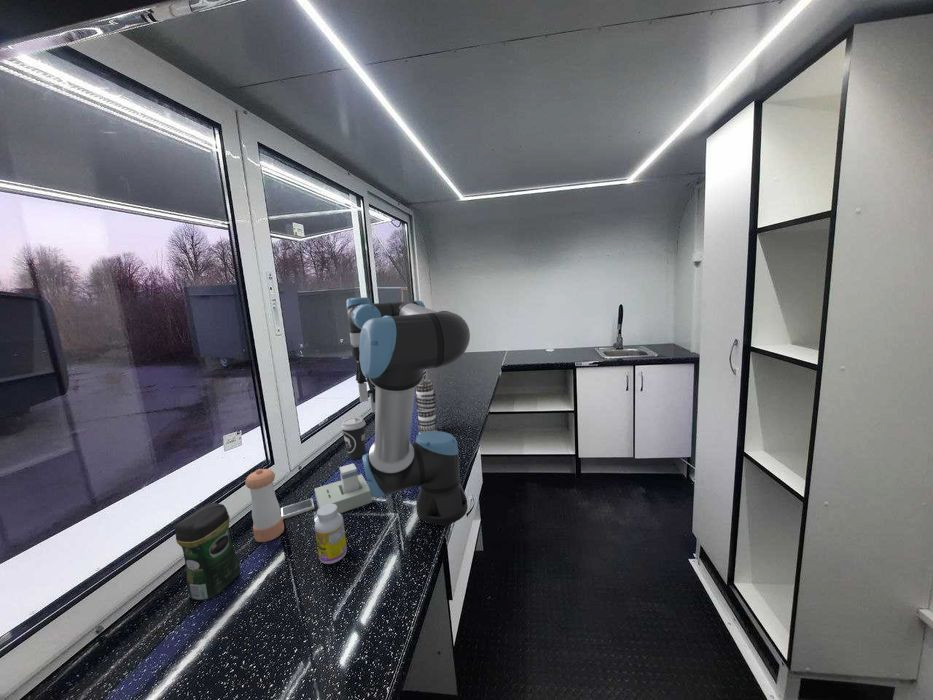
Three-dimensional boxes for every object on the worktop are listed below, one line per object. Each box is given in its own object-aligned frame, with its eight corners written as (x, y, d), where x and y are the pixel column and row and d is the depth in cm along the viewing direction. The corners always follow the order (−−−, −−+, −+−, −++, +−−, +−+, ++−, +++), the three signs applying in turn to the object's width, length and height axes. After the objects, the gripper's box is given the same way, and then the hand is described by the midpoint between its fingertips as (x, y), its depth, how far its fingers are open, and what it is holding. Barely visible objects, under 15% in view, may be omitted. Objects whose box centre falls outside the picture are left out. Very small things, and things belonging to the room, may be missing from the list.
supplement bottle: (315, 555, 89) (308, 508, 86) (341, 541, 93) (335, 497, 91) (324, 570, 83) (317, 521, 81) (351, 555, 88) (345, 509, 85)
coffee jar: (220, 566, 87) (207, 497, 83) (247, 570, 85) (234, 500, 82) (181, 600, 77) (164, 524, 74) (209, 605, 75) (193, 528, 72)
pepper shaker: (251, 545, 94) (238, 479, 90) (259, 527, 100) (248, 465, 97) (280, 538, 95) (270, 473, 92) (286, 522, 102) (276, 461, 99)
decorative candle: (441, 430, 163) (438, 378, 159) (431, 438, 155) (427, 383, 151) (425, 428, 167) (420, 377, 163) (414, 435, 159) (409, 382, 154)
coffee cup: (365, 460, 137) (360, 424, 135) (340, 461, 138) (336, 425, 135) (371, 449, 147) (368, 415, 144) (349, 450, 147) (345, 416, 145)
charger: (360, 497, 111) (356, 468, 110) (345, 502, 109) (342, 473, 108) (357, 491, 115) (353, 463, 114) (342, 496, 113) (339, 467, 111)
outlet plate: (321, 519, 102) (319, 507, 102) (315, 499, 113) (314, 488, 112) (372, 502, 110) (371, 490, 109) (362, 484, 120) (361, 473, 119)
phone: (314, 508, 108) (314, 505, 108) (281, 519, 104) (281, 516, 103) (312, 501, 112) (312, 497, 112) (281, 511, 108) (280, 507, 108)
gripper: (386, 347, 107) (393, 413, 111) (363, 339, 128) (370, 395, 132) (362, 350, 103) (369, 419, 107) (342, 342, 124) (349, 399, 128)
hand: (369, 406), depth 119 cm, fingers open, 13 cm apart
